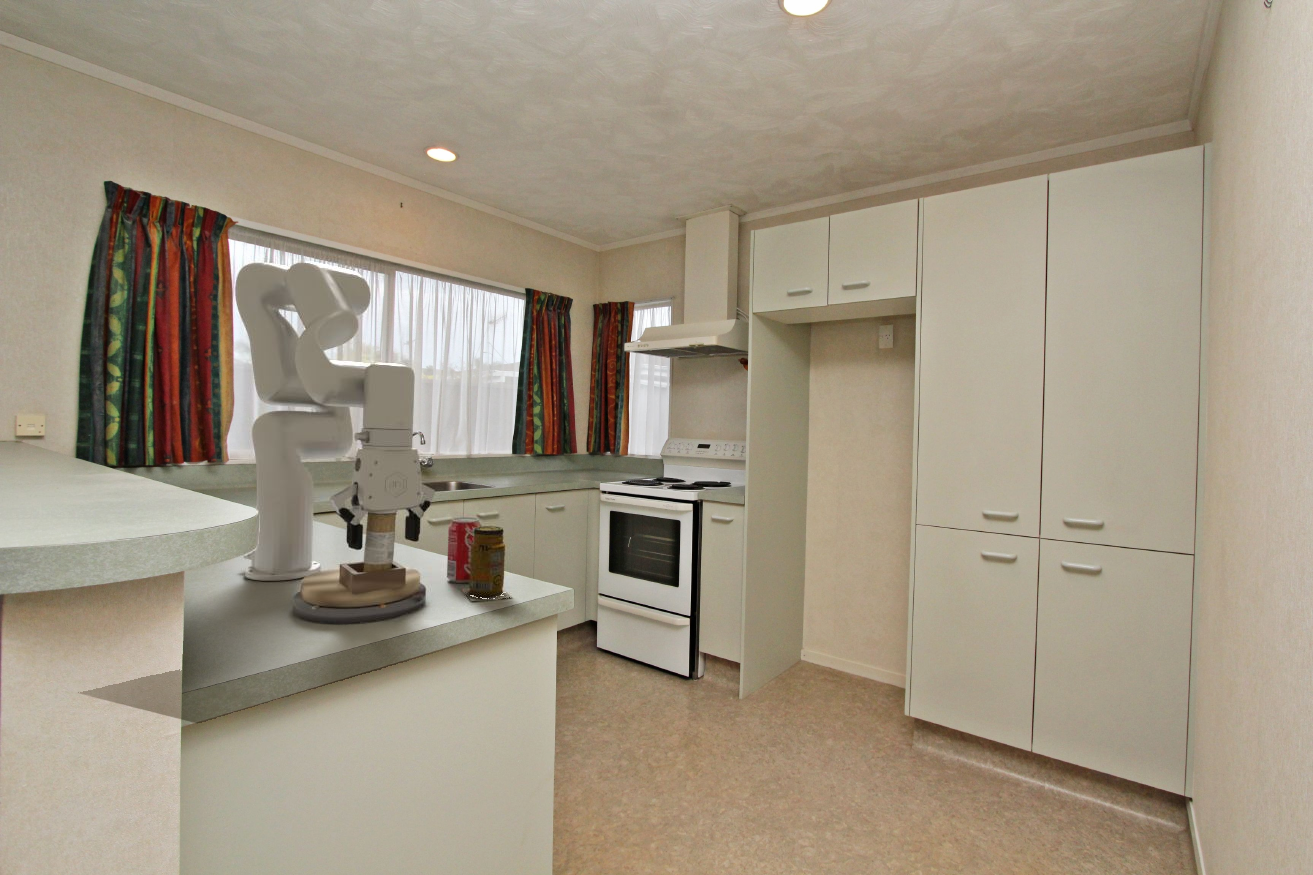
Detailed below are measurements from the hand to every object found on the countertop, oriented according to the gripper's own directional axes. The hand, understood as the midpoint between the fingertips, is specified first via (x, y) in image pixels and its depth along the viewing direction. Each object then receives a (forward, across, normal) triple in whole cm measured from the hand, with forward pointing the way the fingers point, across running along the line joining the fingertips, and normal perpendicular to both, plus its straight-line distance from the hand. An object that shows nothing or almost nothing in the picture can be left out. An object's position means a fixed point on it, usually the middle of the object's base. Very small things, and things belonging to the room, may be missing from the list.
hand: (384, 544), depth 100 cm
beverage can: (+11, +20, +6) cm, 24 cm away
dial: (+8, -1, +5) cm, 10 cm away
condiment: (+11, +17, -4) cm, 21 cm away
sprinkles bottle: (+6, -1, 0) cm, 6 cm away
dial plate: (+11, -1, +5) cm, 12 cm away
